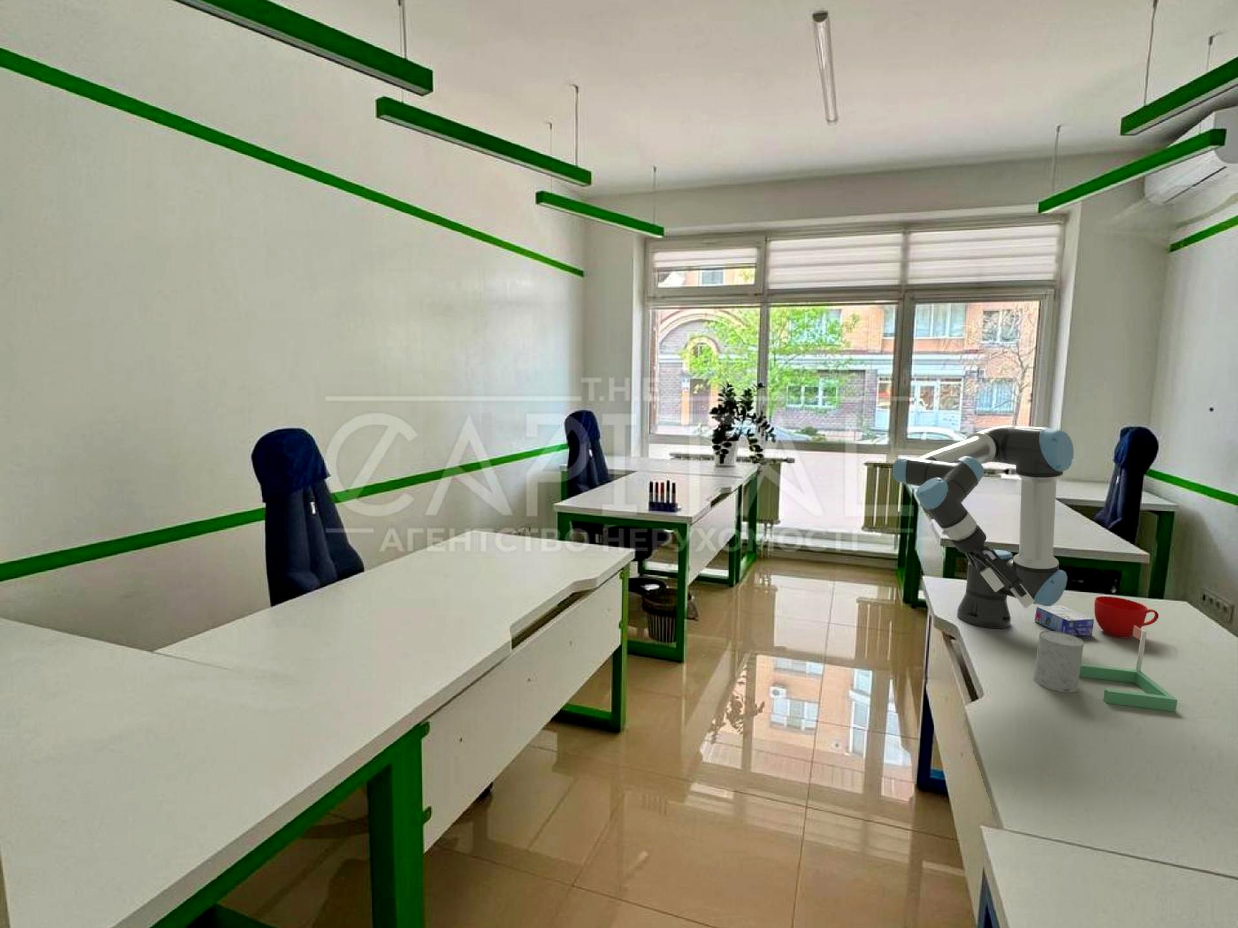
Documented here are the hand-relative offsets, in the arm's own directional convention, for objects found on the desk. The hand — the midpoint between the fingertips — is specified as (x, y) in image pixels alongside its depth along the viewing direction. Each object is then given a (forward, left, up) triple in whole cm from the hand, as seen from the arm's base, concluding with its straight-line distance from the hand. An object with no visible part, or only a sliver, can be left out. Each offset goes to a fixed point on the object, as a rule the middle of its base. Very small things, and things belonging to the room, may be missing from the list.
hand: (1013, 596), depth 164 cm
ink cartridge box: (-51, +29, -20) cm, 62 cm away
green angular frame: (-3, +28, -22) cm, 36 cm away
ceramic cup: (-45, +48, -23) cm, 70 cm away
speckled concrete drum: (-1, +12, -23) cm, 26 cm away
